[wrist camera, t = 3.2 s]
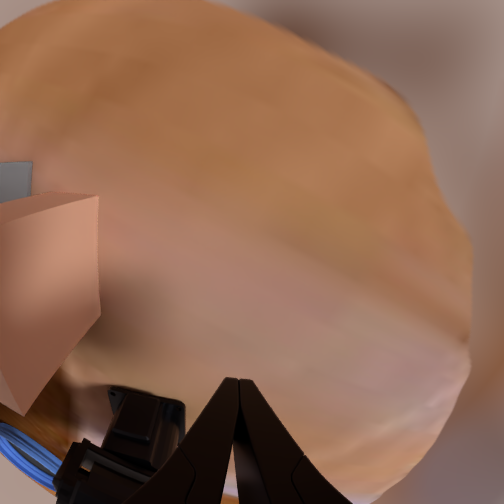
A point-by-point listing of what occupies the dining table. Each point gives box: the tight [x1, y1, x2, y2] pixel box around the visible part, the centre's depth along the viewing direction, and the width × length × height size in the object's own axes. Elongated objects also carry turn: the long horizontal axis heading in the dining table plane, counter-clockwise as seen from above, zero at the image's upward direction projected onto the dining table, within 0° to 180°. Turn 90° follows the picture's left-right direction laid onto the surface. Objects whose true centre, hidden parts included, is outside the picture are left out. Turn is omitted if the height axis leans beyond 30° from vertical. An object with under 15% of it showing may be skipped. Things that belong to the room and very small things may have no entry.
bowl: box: [0, 423, 62, 492], centre depth 23 cm, size 18×18×4 cm
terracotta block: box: [0, 192, 101, 416], centre depth 11 cm, size 8×4×10 cm, turn 171°
